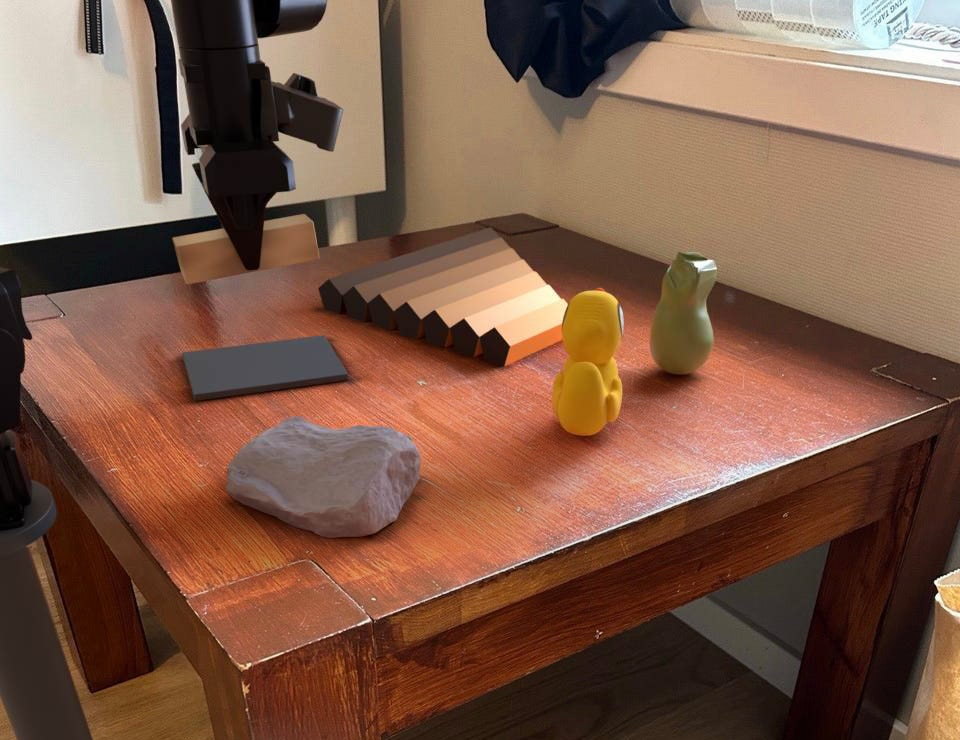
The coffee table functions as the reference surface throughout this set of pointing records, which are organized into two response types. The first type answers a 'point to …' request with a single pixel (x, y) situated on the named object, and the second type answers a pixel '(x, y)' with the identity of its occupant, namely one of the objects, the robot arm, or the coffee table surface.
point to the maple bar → (219, 258)
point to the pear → (684, 315)
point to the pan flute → (456, 298)
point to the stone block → (326, 476)
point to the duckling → (589, 364)
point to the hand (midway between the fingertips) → (249, 264)
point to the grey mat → (262, 367)
